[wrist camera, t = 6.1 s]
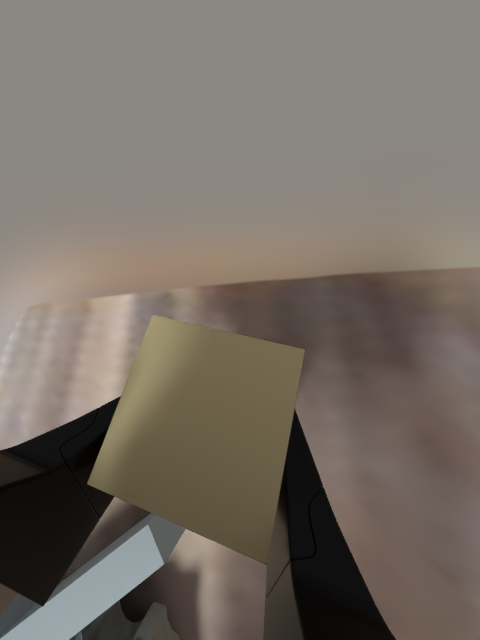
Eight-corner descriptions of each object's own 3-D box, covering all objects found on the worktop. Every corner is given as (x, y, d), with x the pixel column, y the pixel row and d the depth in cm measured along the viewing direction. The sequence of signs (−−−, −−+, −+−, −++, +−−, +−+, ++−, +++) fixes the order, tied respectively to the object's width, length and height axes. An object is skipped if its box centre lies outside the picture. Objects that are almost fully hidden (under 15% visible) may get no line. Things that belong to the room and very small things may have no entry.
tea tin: (269, 443, 15) (266, 564, 5) (203, 421, 16) (87, 483, 6) (283, 372, 17) (305, 349, 6) (222, 356, 18) (152, 314, 7)
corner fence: (188, 523, 15) (164, 564, 11) (31, 647, 14) (-45, 729, 10) (132, 402, 18) (100, 406, 14) (1, 498, 17) (-65, 525, 14)
